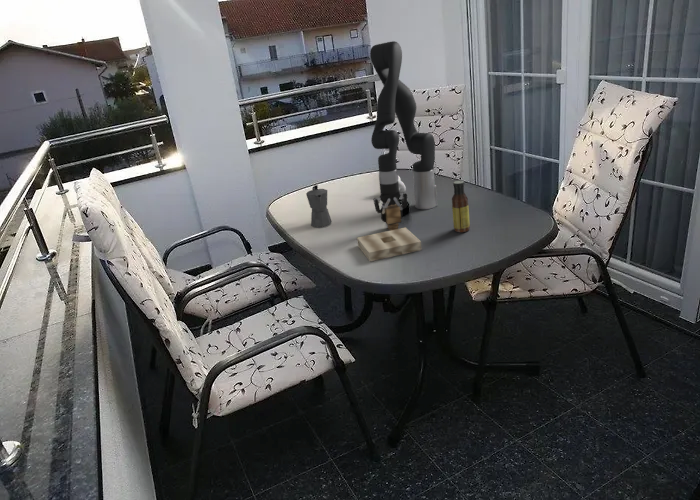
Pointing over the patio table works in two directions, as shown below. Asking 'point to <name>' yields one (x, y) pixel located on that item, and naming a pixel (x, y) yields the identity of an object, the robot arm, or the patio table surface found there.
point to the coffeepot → (318, 207)
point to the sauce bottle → (460, 208)
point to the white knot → (401, 186)
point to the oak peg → (393, 217)
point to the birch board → (388, 244)
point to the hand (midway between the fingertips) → (392, 219)
